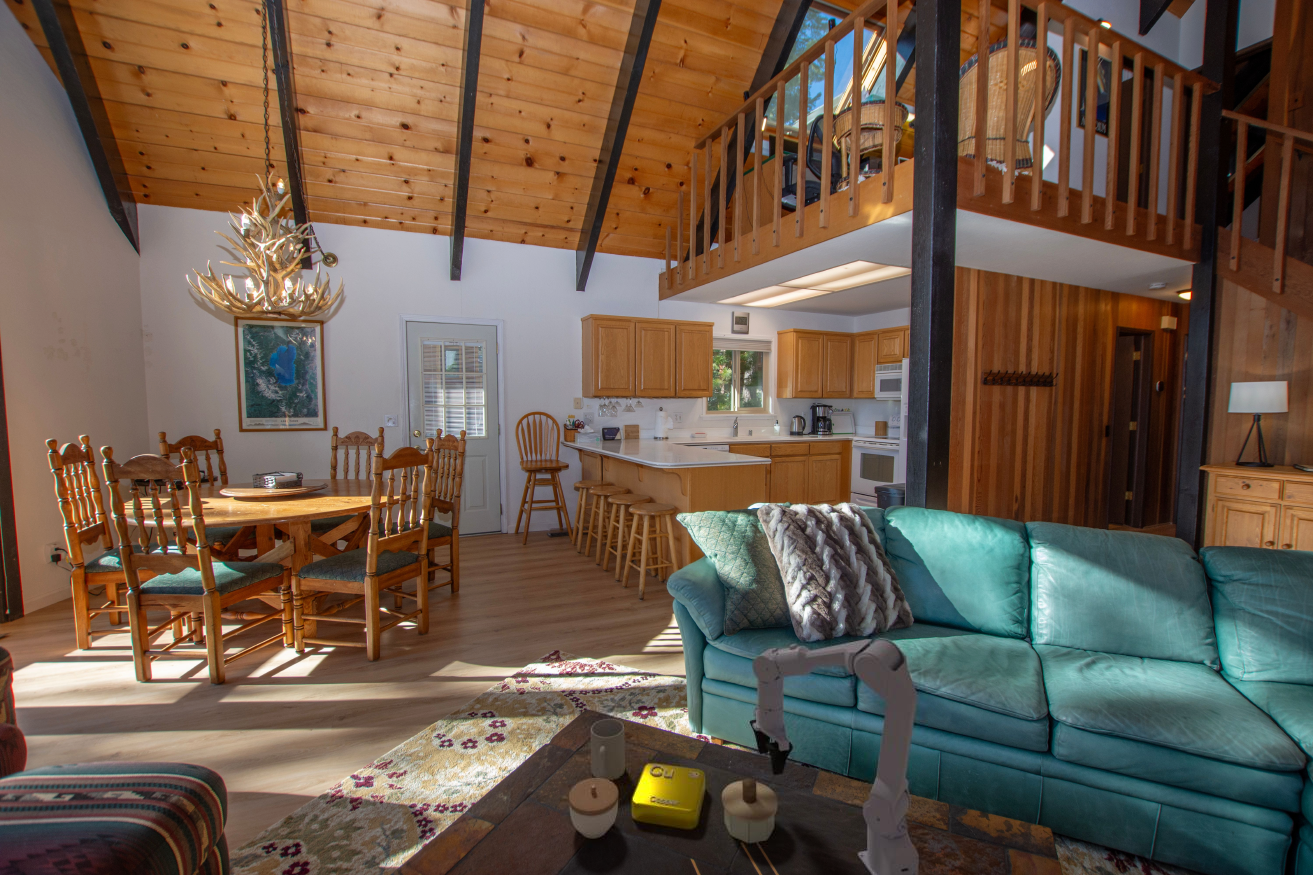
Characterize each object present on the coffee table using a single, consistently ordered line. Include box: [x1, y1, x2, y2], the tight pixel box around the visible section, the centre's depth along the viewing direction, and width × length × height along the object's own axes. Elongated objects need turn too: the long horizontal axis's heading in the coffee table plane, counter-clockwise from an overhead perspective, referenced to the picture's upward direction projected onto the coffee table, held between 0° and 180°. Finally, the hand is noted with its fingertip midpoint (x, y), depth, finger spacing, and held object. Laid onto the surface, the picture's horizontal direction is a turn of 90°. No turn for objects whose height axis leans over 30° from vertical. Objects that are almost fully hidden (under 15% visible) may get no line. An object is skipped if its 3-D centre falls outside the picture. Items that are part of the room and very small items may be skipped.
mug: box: [590, 718, 626, 781], centre depth 140 cm, size 12×8×11 cm
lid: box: [721, 778, 779, 823], centre depth 122 cm, size 12×12×4 cm
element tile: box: [631, 762, 706, 830], centre depth 130 cm, size 15×15×5 cm
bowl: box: [723, 808, 775, 844], centre depth 123 cm, size 10×10×5 cm
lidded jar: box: [568, 777, 619, 839], centre depth 122 cm, size 11×11×9 cm
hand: (770, 762), depth 127 cm, fingers open, 7 cm apart
